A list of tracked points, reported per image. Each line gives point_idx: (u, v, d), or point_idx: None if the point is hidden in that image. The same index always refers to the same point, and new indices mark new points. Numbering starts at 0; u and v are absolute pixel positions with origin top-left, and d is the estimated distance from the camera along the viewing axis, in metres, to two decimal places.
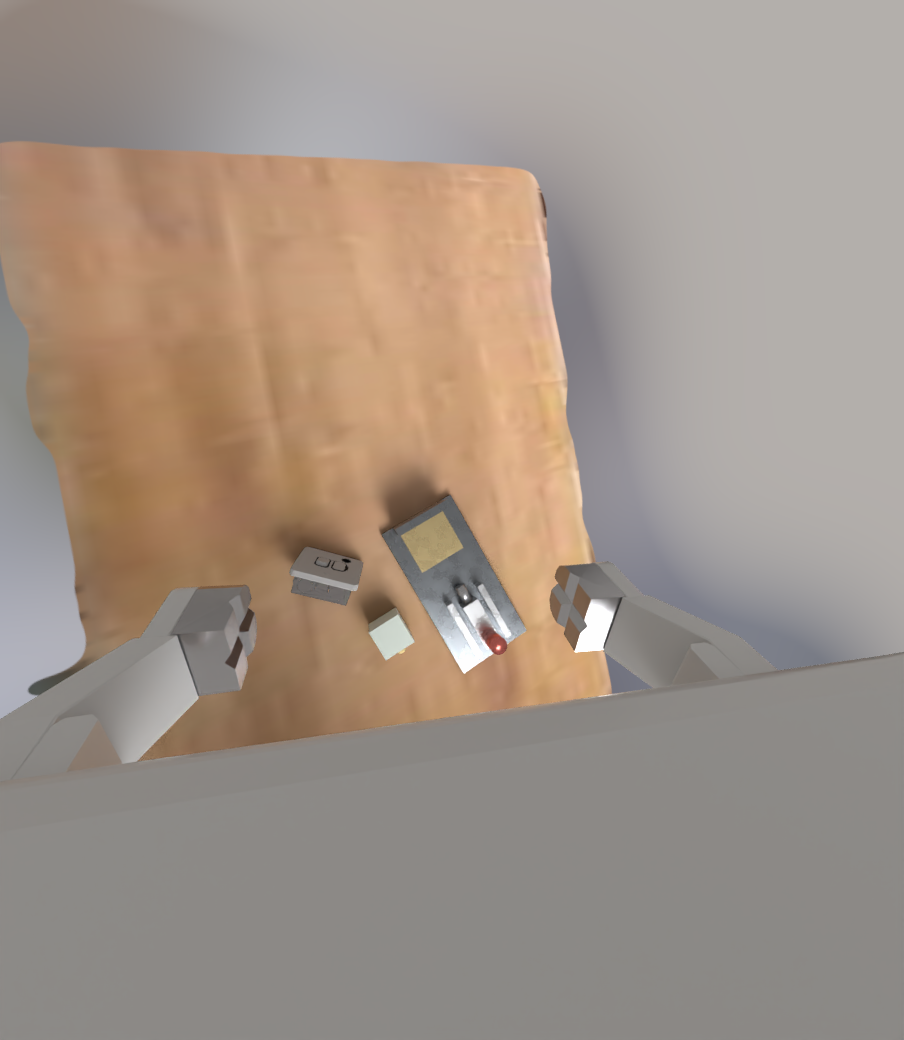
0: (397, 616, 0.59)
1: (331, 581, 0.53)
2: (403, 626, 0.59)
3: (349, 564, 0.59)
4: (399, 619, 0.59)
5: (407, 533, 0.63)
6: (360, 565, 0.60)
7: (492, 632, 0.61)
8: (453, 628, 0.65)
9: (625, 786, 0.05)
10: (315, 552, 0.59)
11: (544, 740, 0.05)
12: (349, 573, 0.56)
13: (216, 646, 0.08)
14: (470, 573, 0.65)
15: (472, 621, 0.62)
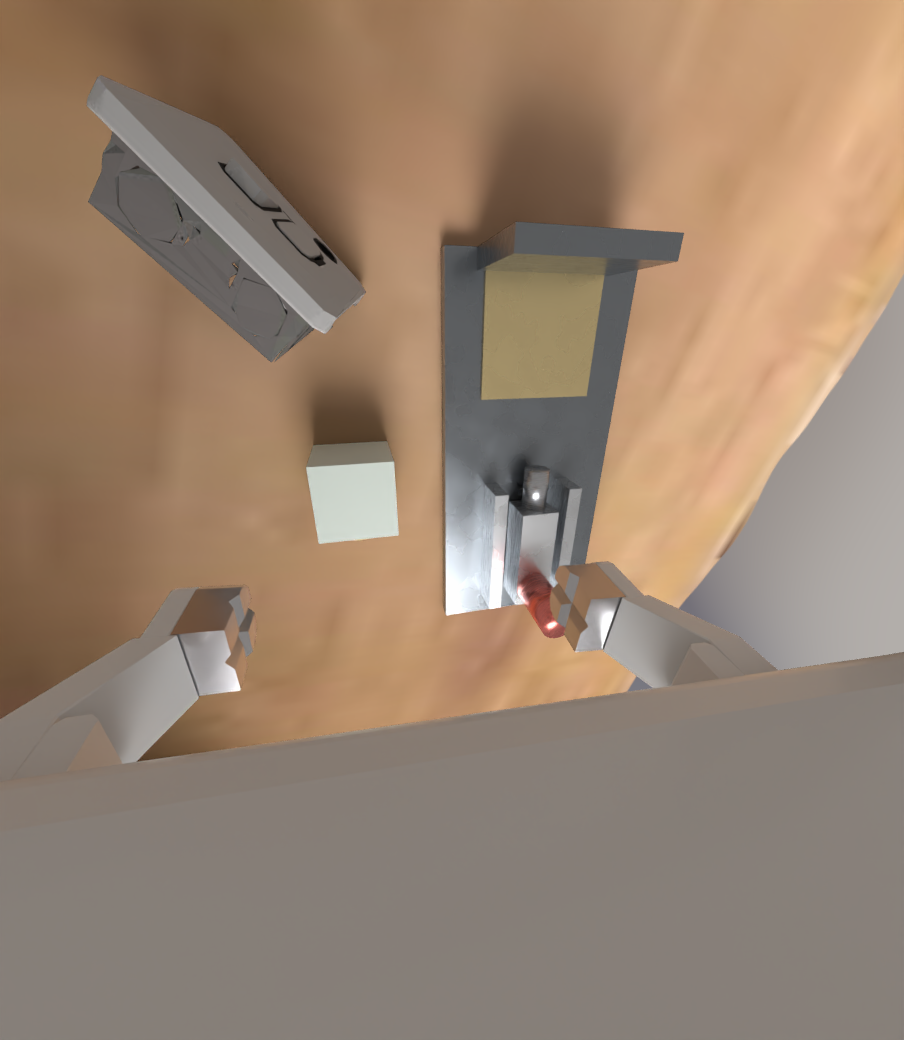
0: (390, 465, 0.23)
1: (251, 246, 0.14)
2: (392, 493, 0.24)
3: (330, 262, 0.20)
4: (391, 474, 0.24)
5: (503, 284, 0.24)
6: (357, 288, 0.21)
7: (550, 586, 0.29)
8: (473, 537, 0.31)
9: (625, 786, 0.05)
10: (243, 159, 0.18)
11: (543, 741, 0.05)
12: (322, 275, 0.18)
13: (216, 646, 0.08)
14: (563, 455, 0.30)
15: (523, 547, 0.29)
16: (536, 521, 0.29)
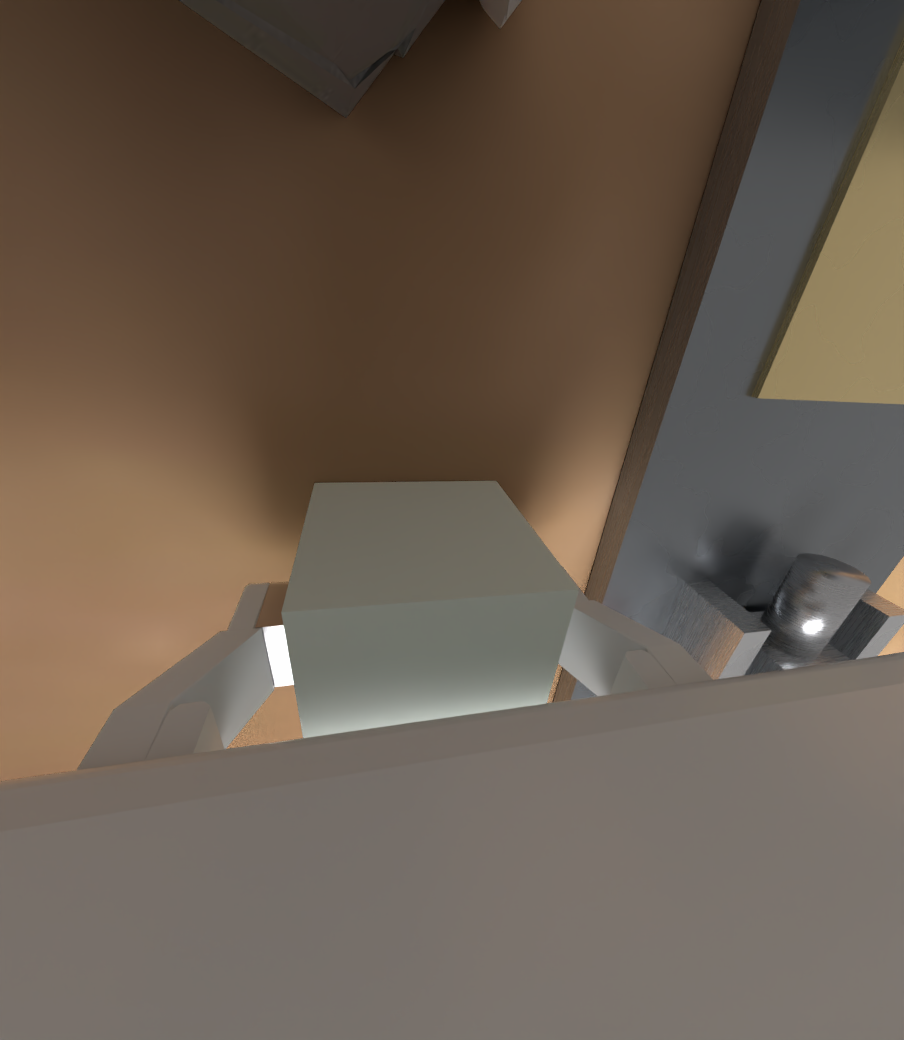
0: (565, 600, 0.07)
1: None
2: (546, 670, 0.08)
3: None
4: (560, 623, 0.07)
5: None
6: None
7: None
8: None
9: (625, 786, 0.05)
10: None
11: (544, 741, 0.05)
12: None
13: None
14: (853, 529, 0.14)
15: None
16: None
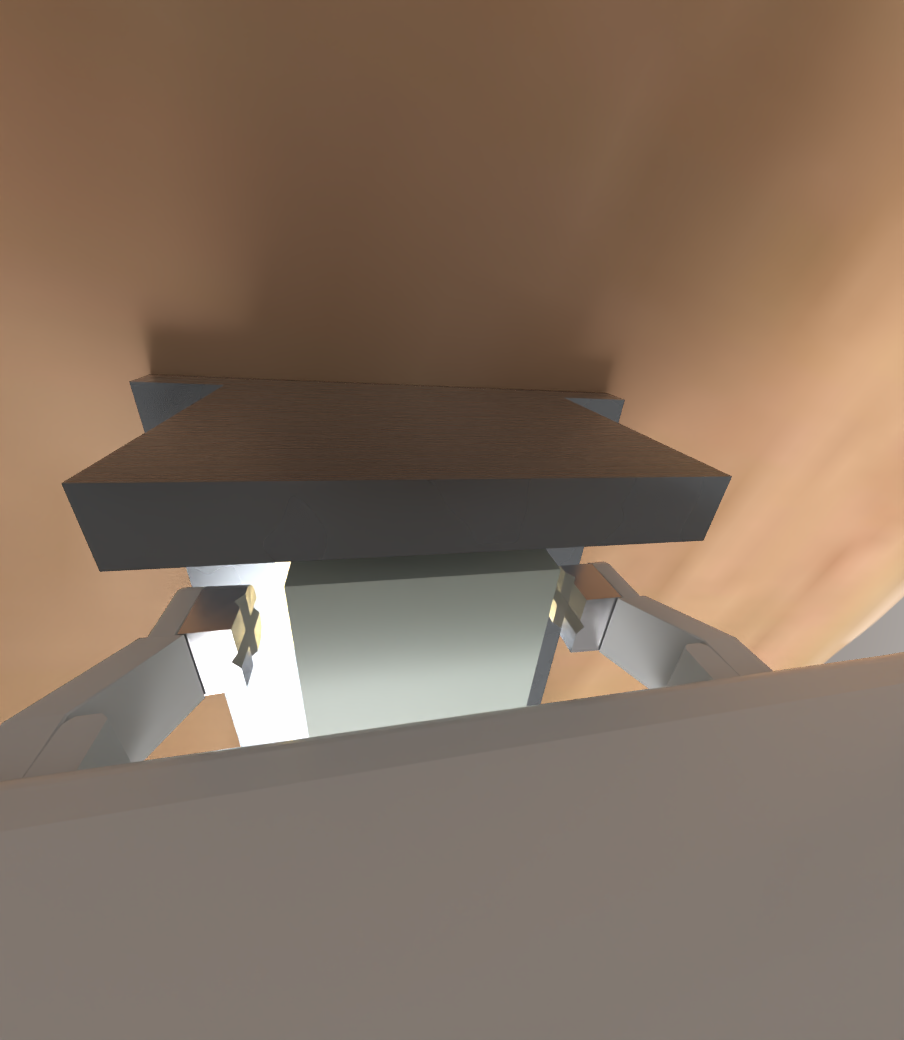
0: (547, 579, 0.08)
1: None
2: (531, 646, 0.08)
3: None
4: (543, 601, 0.08)
5: None
6: None
7: None
8: None
9: (625, 786, 0.05)
10: None
11: (543, 741, 0.05)
12: None
13: (223, 645, 0.08)
14: None
15: None
16: None
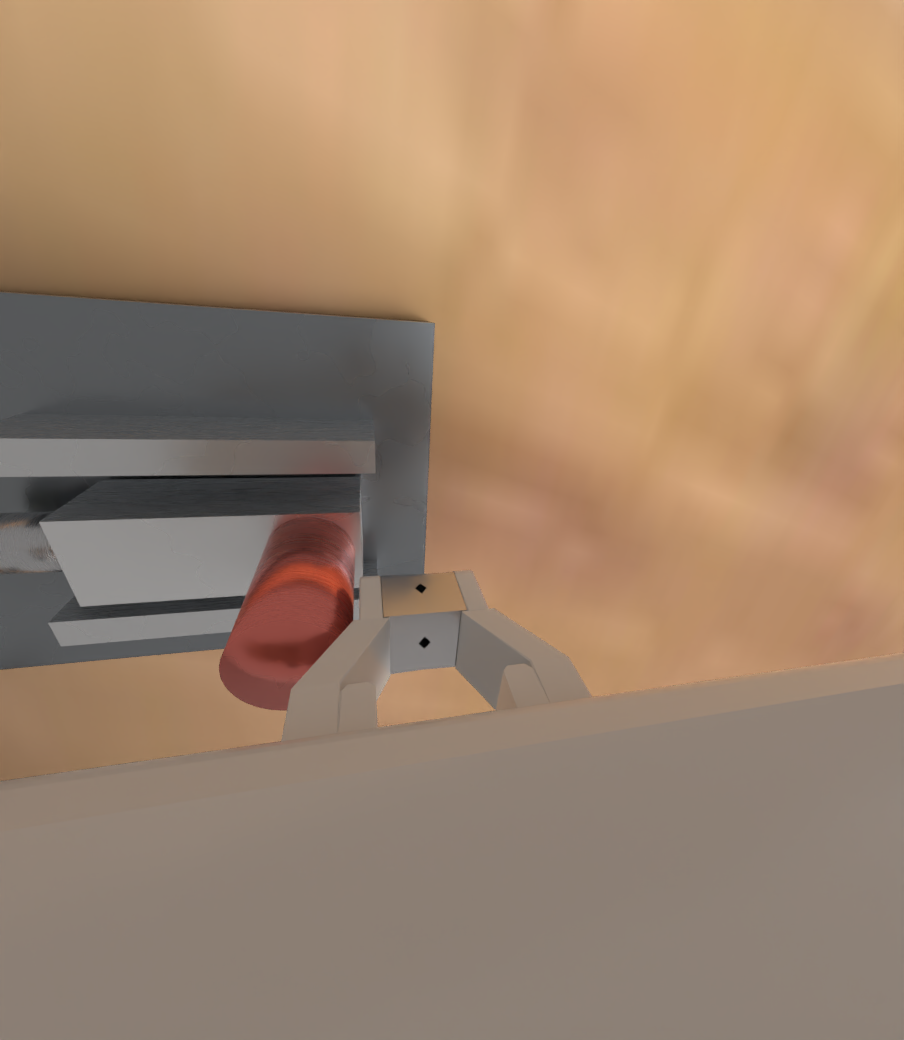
0: None
1: None
2: None
3: None
4: None
5: None
6: None
7: (254, 576, 0.10)
8: None
9: (625, 786, 0.05)
10: None
11: (543, 740, 0.05)
12: None
13: (416, 628, 0.09)
14: None
15: (181, 593, 0.12)
16: (88, 575, 0.11)
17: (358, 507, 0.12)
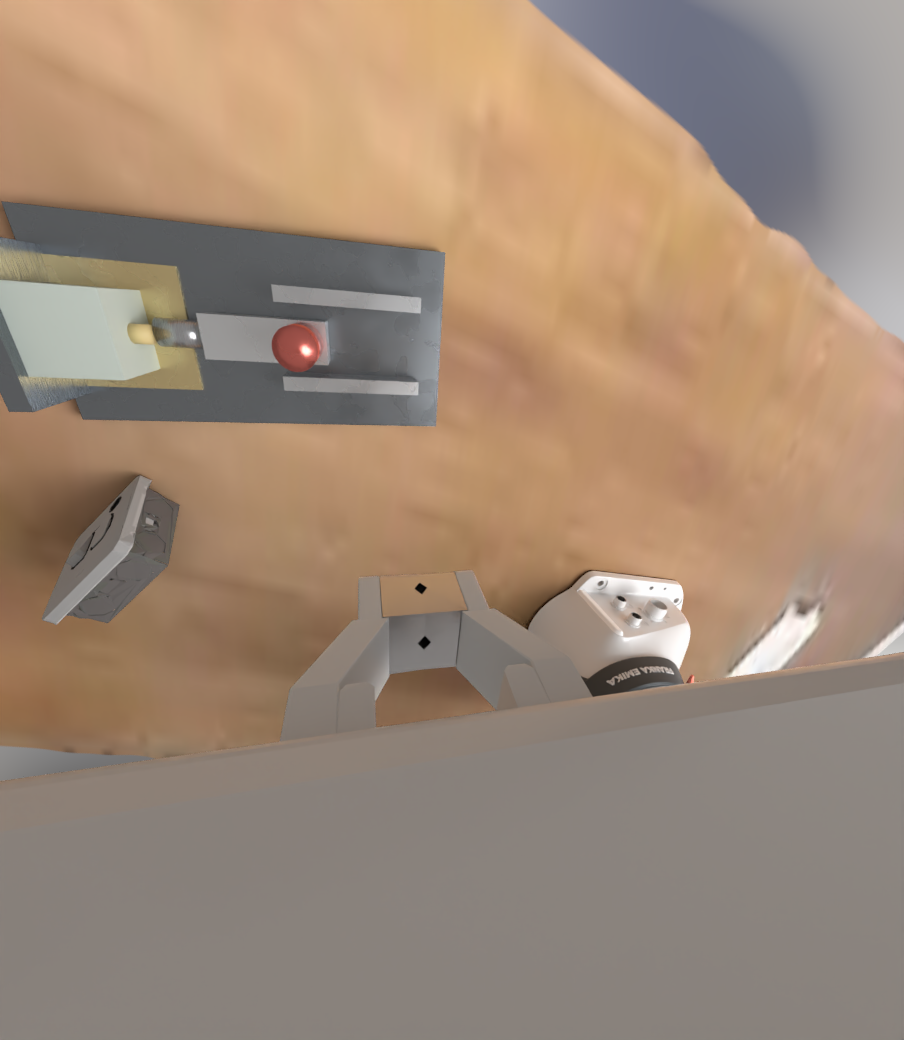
0: None
1: (90, 578, 0.27)
2: (35, 287, 0.21)
3: (117, 507, 0.31)
4: (7, 284, 0.21)
5: None
6: (132, 489, 0.31)
7: None
8: (348, 396, 0.32)
9: (625, 786, 0.05)
10: (80, 539, 0.33)
11: (544, 740, 0.05)
12: (110, 530, 0.29)
13: (415, 628, 0.09)
14: (250, 291, 0.28)
15: (247, 357, 0.27)
16: (211, 342, 0.26)
17: (324, 321, 0.27)
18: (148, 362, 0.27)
